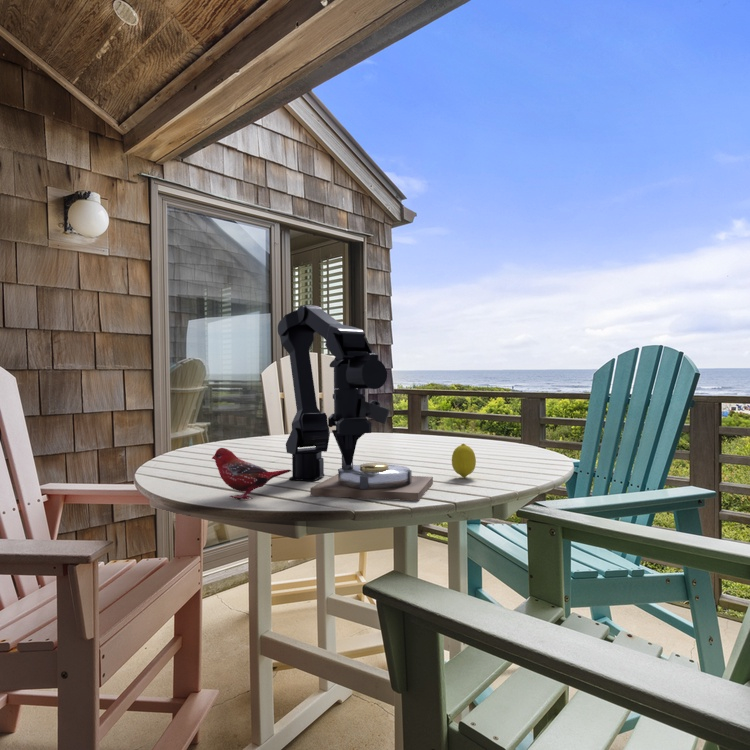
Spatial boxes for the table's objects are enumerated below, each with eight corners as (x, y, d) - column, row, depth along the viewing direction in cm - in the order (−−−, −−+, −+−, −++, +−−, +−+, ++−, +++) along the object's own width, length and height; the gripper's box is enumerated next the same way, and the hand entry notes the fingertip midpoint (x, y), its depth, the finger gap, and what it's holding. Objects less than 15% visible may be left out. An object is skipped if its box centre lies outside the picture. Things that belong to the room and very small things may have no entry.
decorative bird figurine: (216, 495, 103) (215, 446, 103) (295, 501, 97) (294, 448, 98) (207, 499, 100) (206, 448, 100) (288, 504, 95) (287, 450, 95)
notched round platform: (417, 476, 113) (417, 446, 113) (402, 490, 98) (402, 457, 98) (351, 473, 117) (350, 445, 117) (326, 487, 102) (326, 455, 102)
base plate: (310, 495, 102) (310, 488, 102) (339, 479, 118) (338, 473, 118) (418, 500, 96) (418, 493, 96) (432, 483, 112) (432, 476, 113)
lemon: (474, 475, 121) (474, 442, 121) (477, 480, 116) (476, 445, 116) (451, 475, 122) (450, 442, 122) (452, 480, 116) (452, 445, 116)
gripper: (397, 388, 97) (398, 470, 97) (376, 388, 116) (377, 457, 115) (339, 389, 95) (340, 473, 95) (327, 388, 113) (328, 459, 113)
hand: (348, 465), depth 105 cm, fingers closed
